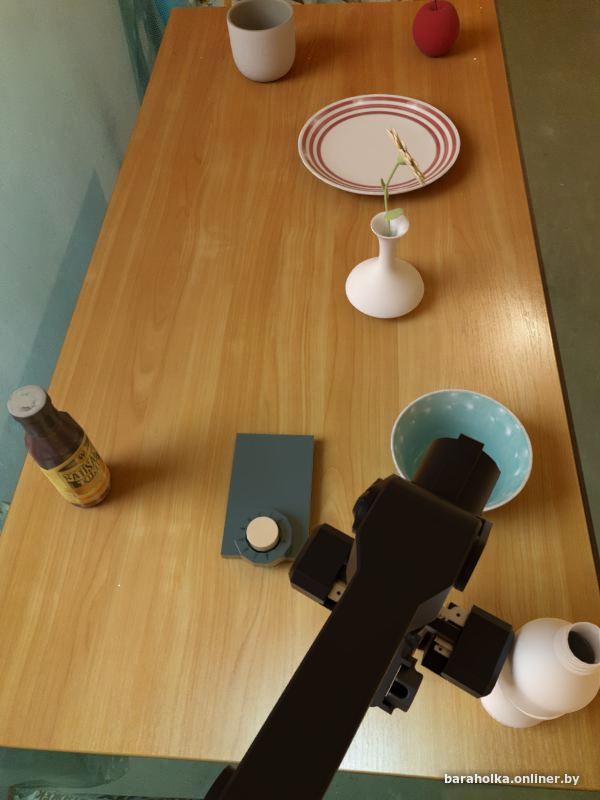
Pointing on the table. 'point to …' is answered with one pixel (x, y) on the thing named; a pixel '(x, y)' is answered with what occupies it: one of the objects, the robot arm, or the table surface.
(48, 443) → the sauce bottle
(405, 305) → the flower in vase
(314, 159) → the dinner plate
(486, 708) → the water bottle
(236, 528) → the teal rectangular base
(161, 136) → the table surface
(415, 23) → the apple
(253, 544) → the beige round cap
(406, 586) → the robot arm
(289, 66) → the planter
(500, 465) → the bowl
